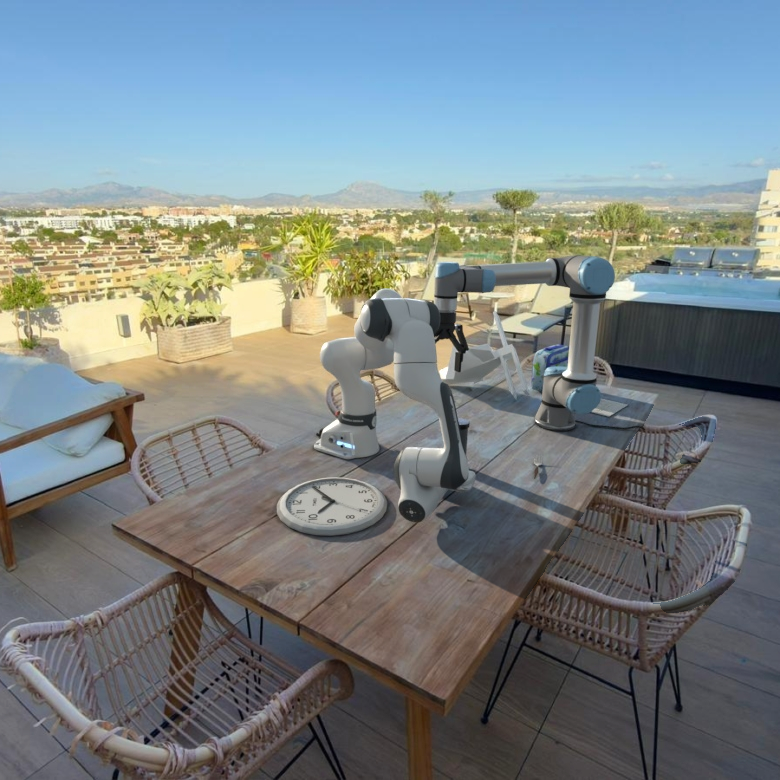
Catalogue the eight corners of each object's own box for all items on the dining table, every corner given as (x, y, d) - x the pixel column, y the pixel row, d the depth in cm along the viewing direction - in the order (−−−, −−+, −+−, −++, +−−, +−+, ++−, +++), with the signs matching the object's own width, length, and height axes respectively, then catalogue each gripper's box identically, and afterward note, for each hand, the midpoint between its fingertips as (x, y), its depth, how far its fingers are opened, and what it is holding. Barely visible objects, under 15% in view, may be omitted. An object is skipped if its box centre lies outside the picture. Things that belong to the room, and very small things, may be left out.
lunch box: (547, 397, 237) (552, 352, 231) (526, 391, 245) (531, 348, 238) (574, 386, 255) (580, 344, 249) (554, 381, 262) (559, 340, 256)
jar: (465, 472, 164) (468, 426, 159) (448, 470, 164) (450, 425, 160) (465, 464, 169) (468, 420, 164) (448, 463, 169) (451, 419, 165)
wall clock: (392, 527, 129) (268, 531, 127) (391, 533, 130) (269, 537, 127) (383, 473, 158) (282, 475, 155) (383, 478, 158) (282, 480, 156)
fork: (529, 479, 159) (530, 473, 158) (534, 459, 173) (535, 453, 173) (538, 481, 158) (539, 475, 158) (543, 460, 172) (543, 454, 172)
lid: (469, 430, 159) (469, 425, 159) (449, 429, 160) (449, 424, 159) (469, 423, 165) (469, 418, 164) (449, 422, 166) (449, 417, 165)
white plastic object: (461, 429, 252) (437, 405, 227) (444, 352, 274) (420, 323, 250) (535, 404, 240) (518, 377, 215) (510, 326, 262) (492, 293, 237)
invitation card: (608, 416, 214) (573, 407, 224) (608, 416, 214) (573, 408, 224) (628, 404, 229) (594, 396, 238) (628, 405, 229) (594, 397, 238)
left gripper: (469, 481, 137) (481, 460, 149) (397, 466, 144) (414, 448, 157) (468, 502, 139) (480, 480, 151) (396, 487, 146) (413, 467, 159)
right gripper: (468, 307, 179) (463, 367, 186) (406, 311, 167) (404, 375, 174) (482, 310, 173) (477, 372, 179) (419, 314, 161) (416, 380, 167)
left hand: (446, 463), depth 154 cm, fingers open, 8 cm apart
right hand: (441, 373), depth 177 cm, fingers open, 13 cm apart
